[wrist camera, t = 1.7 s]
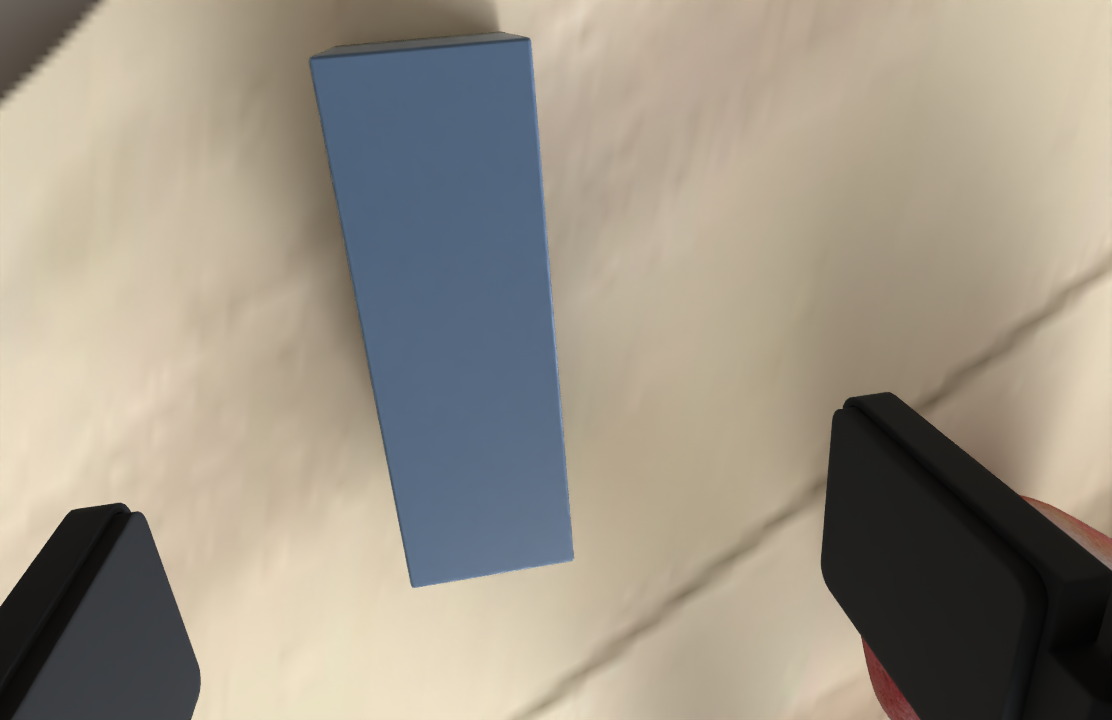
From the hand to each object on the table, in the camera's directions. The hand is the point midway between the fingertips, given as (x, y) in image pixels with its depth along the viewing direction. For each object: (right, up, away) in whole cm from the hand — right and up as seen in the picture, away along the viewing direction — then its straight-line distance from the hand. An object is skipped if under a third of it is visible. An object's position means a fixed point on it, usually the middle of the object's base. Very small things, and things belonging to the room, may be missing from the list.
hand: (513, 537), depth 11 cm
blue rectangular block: (-2, +5, +10) cm, 12 cm away
